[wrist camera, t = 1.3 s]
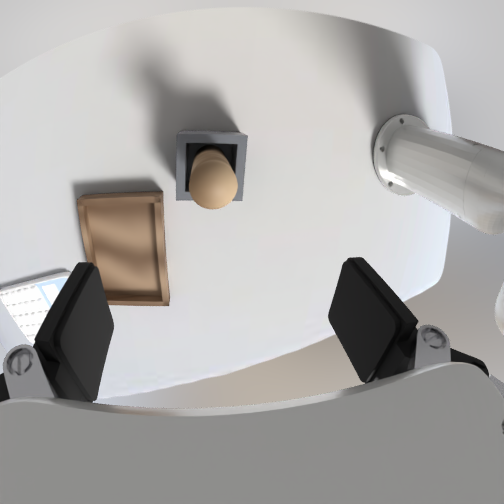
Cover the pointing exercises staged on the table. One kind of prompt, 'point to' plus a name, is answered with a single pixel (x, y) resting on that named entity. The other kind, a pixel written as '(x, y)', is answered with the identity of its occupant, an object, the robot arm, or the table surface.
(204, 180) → the dowel
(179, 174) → the pen cup
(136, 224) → the tray
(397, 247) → the table surface
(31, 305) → the calculator
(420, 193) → the robot arm
